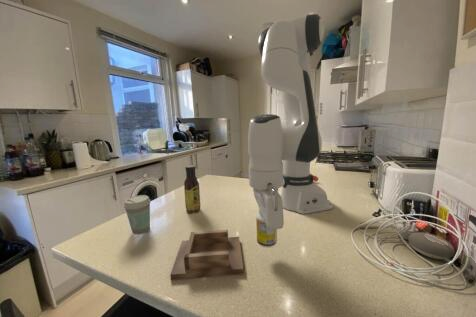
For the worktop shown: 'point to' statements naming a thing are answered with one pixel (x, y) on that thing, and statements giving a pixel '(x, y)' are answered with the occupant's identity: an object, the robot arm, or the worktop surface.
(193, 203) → the sauce bottle
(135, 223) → the coffee cup
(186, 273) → the slot holder
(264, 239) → the supplement bottle
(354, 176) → the worktop surface
